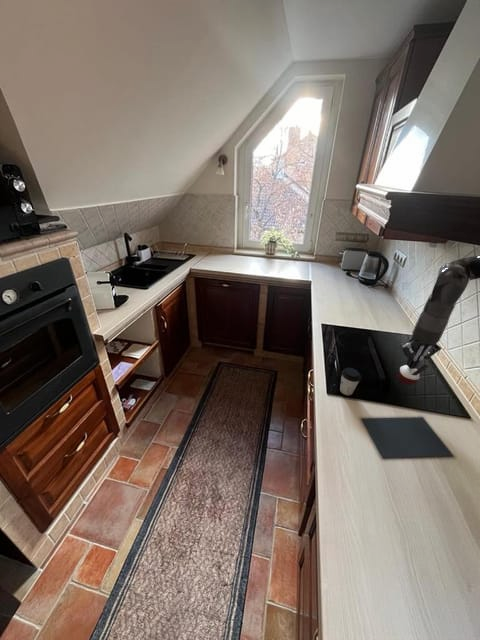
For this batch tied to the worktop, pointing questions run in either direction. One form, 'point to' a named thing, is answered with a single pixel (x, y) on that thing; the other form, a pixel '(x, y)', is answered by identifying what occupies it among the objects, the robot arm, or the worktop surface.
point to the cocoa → (410, 374)
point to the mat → (405, 438)
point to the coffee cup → (349, 381)
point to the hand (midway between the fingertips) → (411, 367)
